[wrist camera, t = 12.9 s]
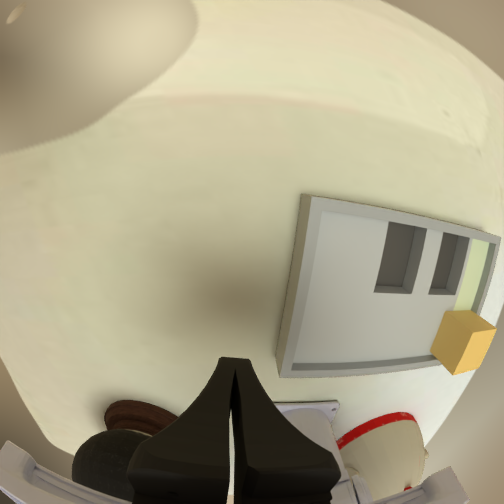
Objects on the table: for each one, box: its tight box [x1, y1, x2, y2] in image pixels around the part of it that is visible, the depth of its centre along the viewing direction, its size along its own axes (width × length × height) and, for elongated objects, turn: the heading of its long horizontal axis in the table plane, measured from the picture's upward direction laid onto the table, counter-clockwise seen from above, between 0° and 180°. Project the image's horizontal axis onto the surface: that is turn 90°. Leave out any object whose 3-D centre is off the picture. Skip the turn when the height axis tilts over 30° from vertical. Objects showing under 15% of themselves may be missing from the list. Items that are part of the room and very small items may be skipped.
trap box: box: [275, 194, 501, 378], centre depth 20 cm, size 14×21×3 cm, turn 84°
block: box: [430, 310, 497, 375], centre depth 19 cm, size 4×4×4 cm
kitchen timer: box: [336, 412, 429, 501], centre depth 21 cm, size 14×14×15 cm
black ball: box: [72, 400, 178, 502], centre depth 18 cm, size 13×13×15 cm
